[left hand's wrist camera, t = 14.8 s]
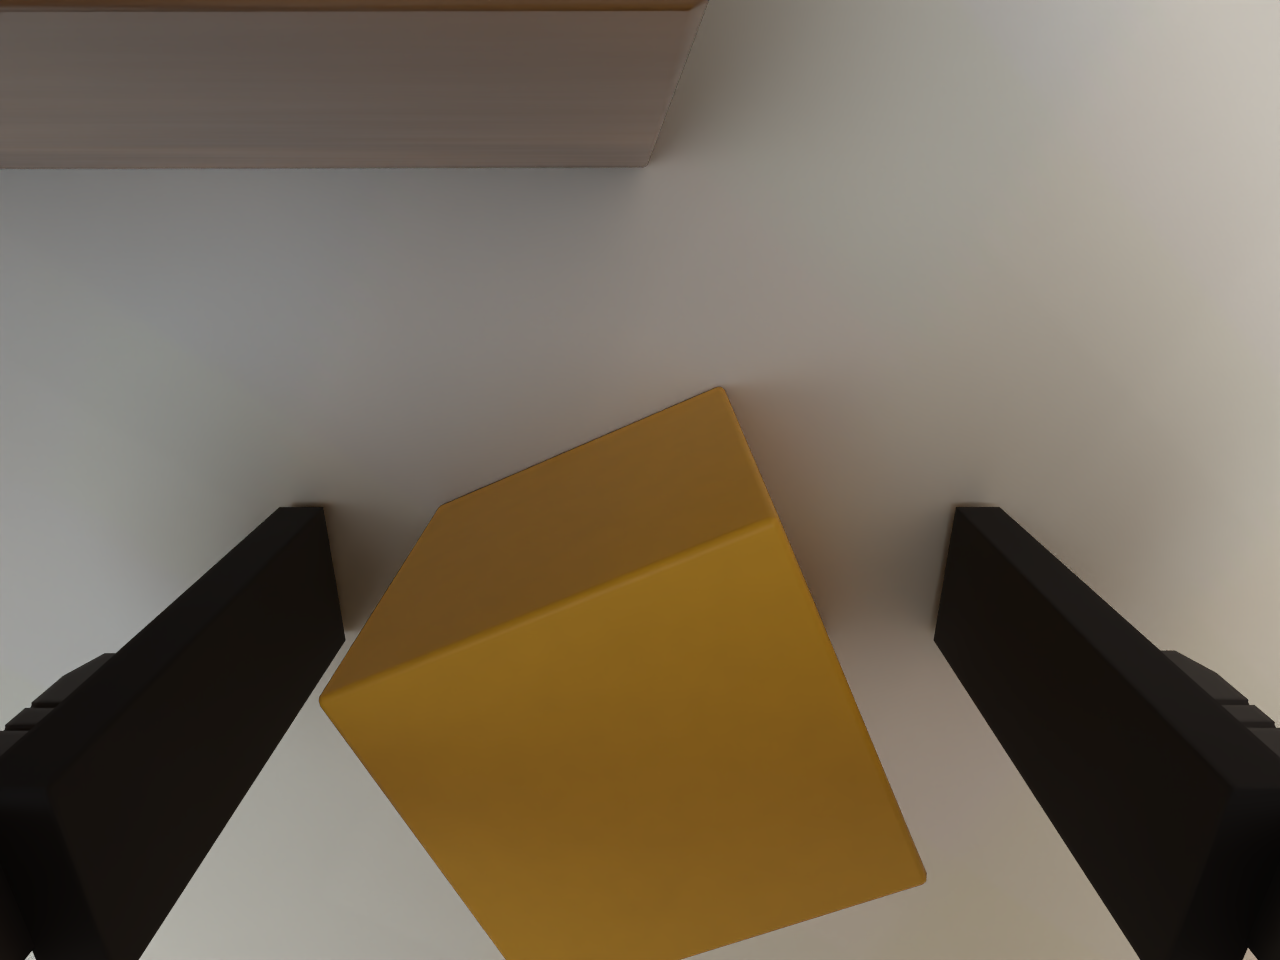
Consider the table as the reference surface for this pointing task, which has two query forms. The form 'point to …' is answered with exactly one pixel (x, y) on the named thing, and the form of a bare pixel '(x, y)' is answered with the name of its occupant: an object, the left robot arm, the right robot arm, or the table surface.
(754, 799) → the block
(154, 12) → the chest
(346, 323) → the table surface
